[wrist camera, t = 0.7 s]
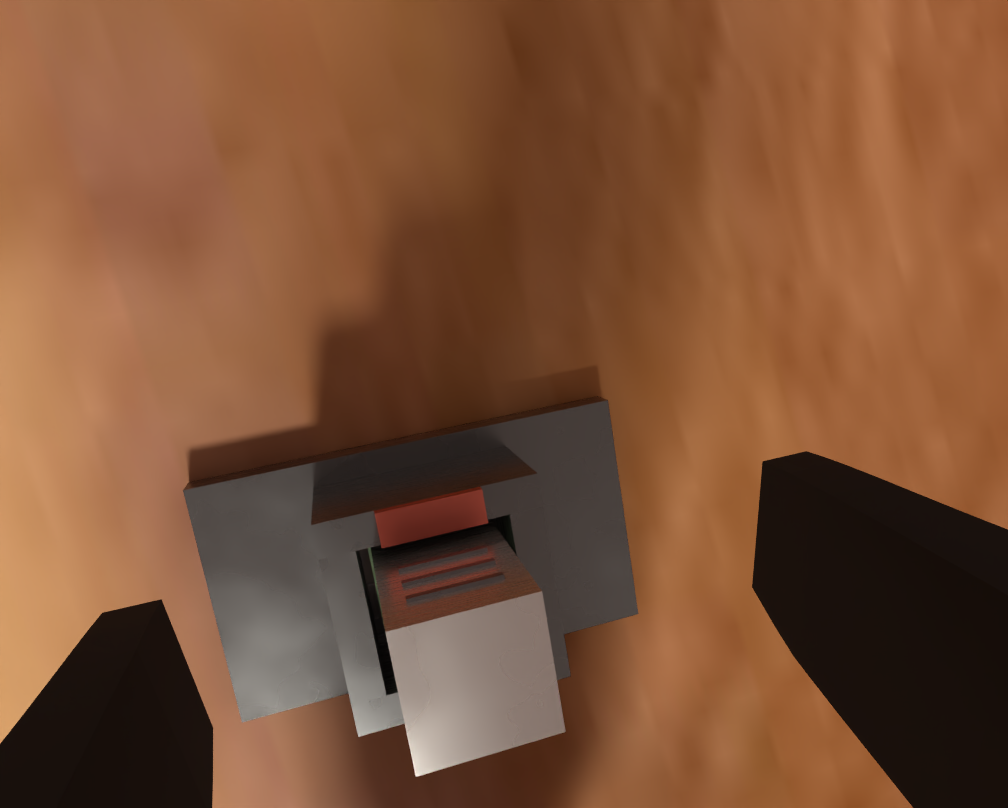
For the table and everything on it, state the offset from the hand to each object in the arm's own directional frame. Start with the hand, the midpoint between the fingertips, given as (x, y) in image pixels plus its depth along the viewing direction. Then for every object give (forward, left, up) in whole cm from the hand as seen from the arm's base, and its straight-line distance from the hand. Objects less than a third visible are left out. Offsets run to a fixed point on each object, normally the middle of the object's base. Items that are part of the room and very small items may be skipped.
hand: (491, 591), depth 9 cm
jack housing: (-5, 0, -17) cm, 18 cm away
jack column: (-5, 0, -16) cm, 17 cm away
